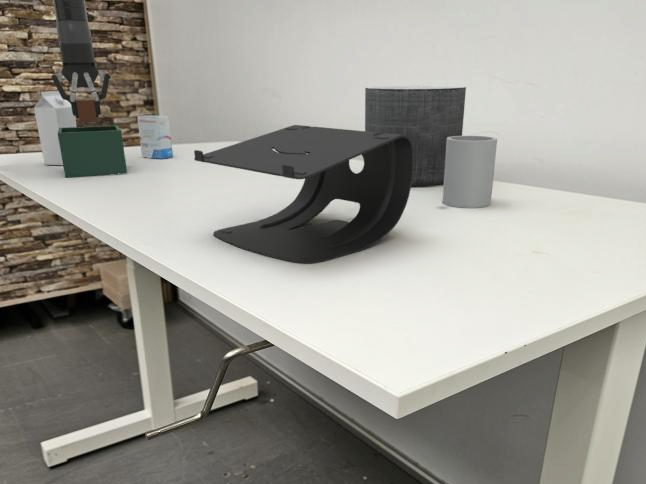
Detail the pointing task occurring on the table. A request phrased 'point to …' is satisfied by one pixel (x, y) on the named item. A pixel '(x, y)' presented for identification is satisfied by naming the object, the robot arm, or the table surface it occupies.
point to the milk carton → (52, 124)
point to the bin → (92, 151)
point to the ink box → (155, 136)
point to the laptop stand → (322, 189)
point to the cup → (469, 171)
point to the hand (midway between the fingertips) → (87, 117)
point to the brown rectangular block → (86, 110)
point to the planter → (418, 122)
